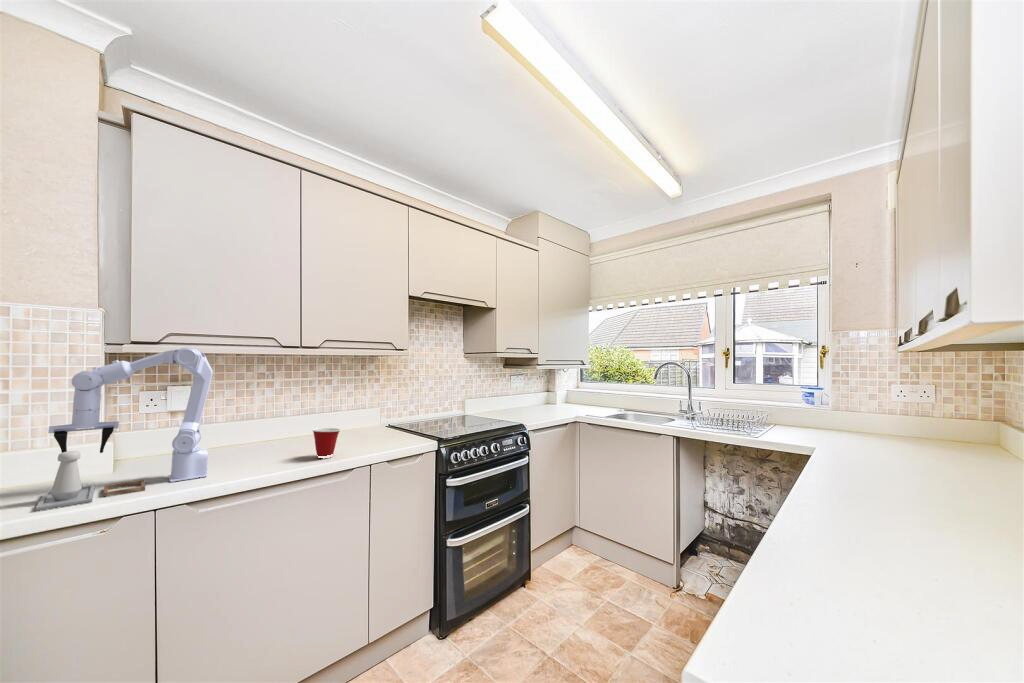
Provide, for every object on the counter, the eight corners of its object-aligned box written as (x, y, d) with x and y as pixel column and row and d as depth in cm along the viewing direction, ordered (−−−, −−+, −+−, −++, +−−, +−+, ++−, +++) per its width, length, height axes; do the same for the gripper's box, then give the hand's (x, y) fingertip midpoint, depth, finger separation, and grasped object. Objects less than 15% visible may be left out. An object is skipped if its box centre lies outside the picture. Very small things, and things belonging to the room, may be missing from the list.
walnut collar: (143, 483, 125) (144, 479, 125) (144, 490, 119) (145, 486, 119) (104, 489, 119) (104, 485, 119) (103, 497, 113) (103, 493, 113)
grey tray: (94, 487, 120) (95, 484, 120) (91, 502, 109) (92, 498, 109) (44, 495, 113) (44, 491, 113) (35, 511, 102) (35, 507, 102)
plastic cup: (345, 455, 166) (346, 427, 167) (327, 461, 156) (328, 431, 156) (323, 453, 169) (324, 425, 169) (304, 459, 158) (306, 429, 159)
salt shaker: (61, 502, 107) (65, 454, 107) (43, 501, 108) (47, 453, 108) (87, 495, 113) (90, 450, 113) (70, 493, 113) (73, 448, 114)
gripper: (119, 406, 128) (117, 448, 128) (52, 410, 118) (48, 455, 117) (119, 409, 123) (116, 452, 123) (49, 412, 113) (45, 460, 112)
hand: (83, 454), depth 120 cm, fingers open, 7 cm apart
